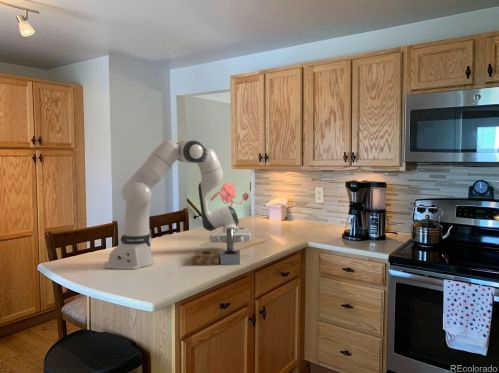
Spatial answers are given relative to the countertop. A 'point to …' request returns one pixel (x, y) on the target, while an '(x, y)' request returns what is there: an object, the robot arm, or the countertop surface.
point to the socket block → (230, 257)
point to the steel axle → (230, 241)
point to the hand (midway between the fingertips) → (230, 240)
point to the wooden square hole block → (205, 258)
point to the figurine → (229, 194)
